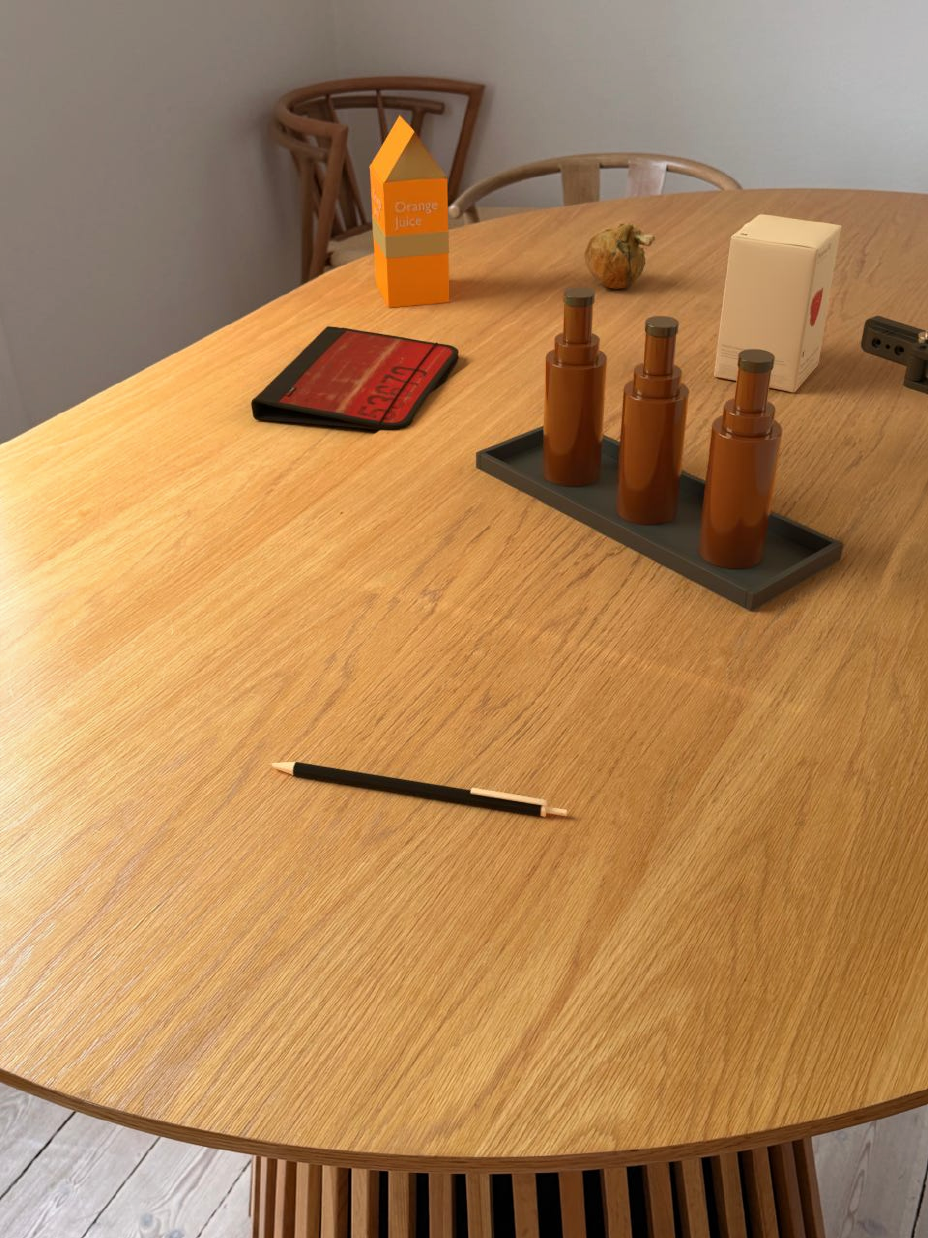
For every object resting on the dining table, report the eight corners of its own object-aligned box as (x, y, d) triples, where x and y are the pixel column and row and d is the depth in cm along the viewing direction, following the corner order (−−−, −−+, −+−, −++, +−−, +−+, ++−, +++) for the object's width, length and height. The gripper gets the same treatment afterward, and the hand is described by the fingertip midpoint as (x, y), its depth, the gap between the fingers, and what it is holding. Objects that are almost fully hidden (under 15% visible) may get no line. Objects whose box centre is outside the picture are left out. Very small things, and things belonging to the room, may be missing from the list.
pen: (565, 823, 73) (566, 809, 72) (267, 774, 77) (266, 760, 76) (567, 813, 74) (568, 799, 73) (272, 765, 78) (271, 751, 77)
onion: (632, 272, 156) (636, 208, 151) (653, 292, 149) (658, 227, 145) (575, 276, 154) (578, 213, 150) (594, 297, 148) (597, 231, 143)
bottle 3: (771, 545, 98) (801, 349, 89) (752, 575, 94) (781, 374, 85) (709, 530, 100) (733, 337, 91) (688, 559, 96) (710, 361, 87)
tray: (839, 565, 96) (843, 542, 95) (750, 618, 90) (753, 594, 89) (564, 436, 116) (564, 416, 115) (475, 472, 110) (475, 452, 109)
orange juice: (387, 307, 146) (379, 132, 134) (374, 284, 153) (365, 115, 141) (451, 302, 147) (448, 127, 136) (435, 278, 154) (431, 111, 143)
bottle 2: (685, 503, 104) (705, 316, 94) (664, 530, 100) (682, 338, 91) (629, 490, 106) (642, 305, 97) (605, 516, 102) (617, 326, 93)
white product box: (795, 395, 124) (818, 248, 115) (711, 378, 127) (727, 234, 119) (821, 364, 130) (844, 223, 122) (740, 349, 134) (758, 211, 125)
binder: (249, 398, 118) (325, 323, 135) (251, 420, 120) (326, 343, 136) (406, 421, 115) (464, 341, 132) (406, 443, 117) (463, 362, 133)
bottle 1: (609, 467, 110) (621, 287, 100) (586, 492, 106) (595, 307, 96) (557, 455, 112) (563, 277, 102) (532, 479, 108) (536, 296, 98)
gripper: (1078, 495, 66) (828, 400, 76) (1194, 419, 73) (952, 342, 84) (1120, 365, 62) (848, 283, 72) (1238, 298, 69) (978, 232, 79)
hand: (905, 315), depth 78 cm, fingers open, 8 cm apart
